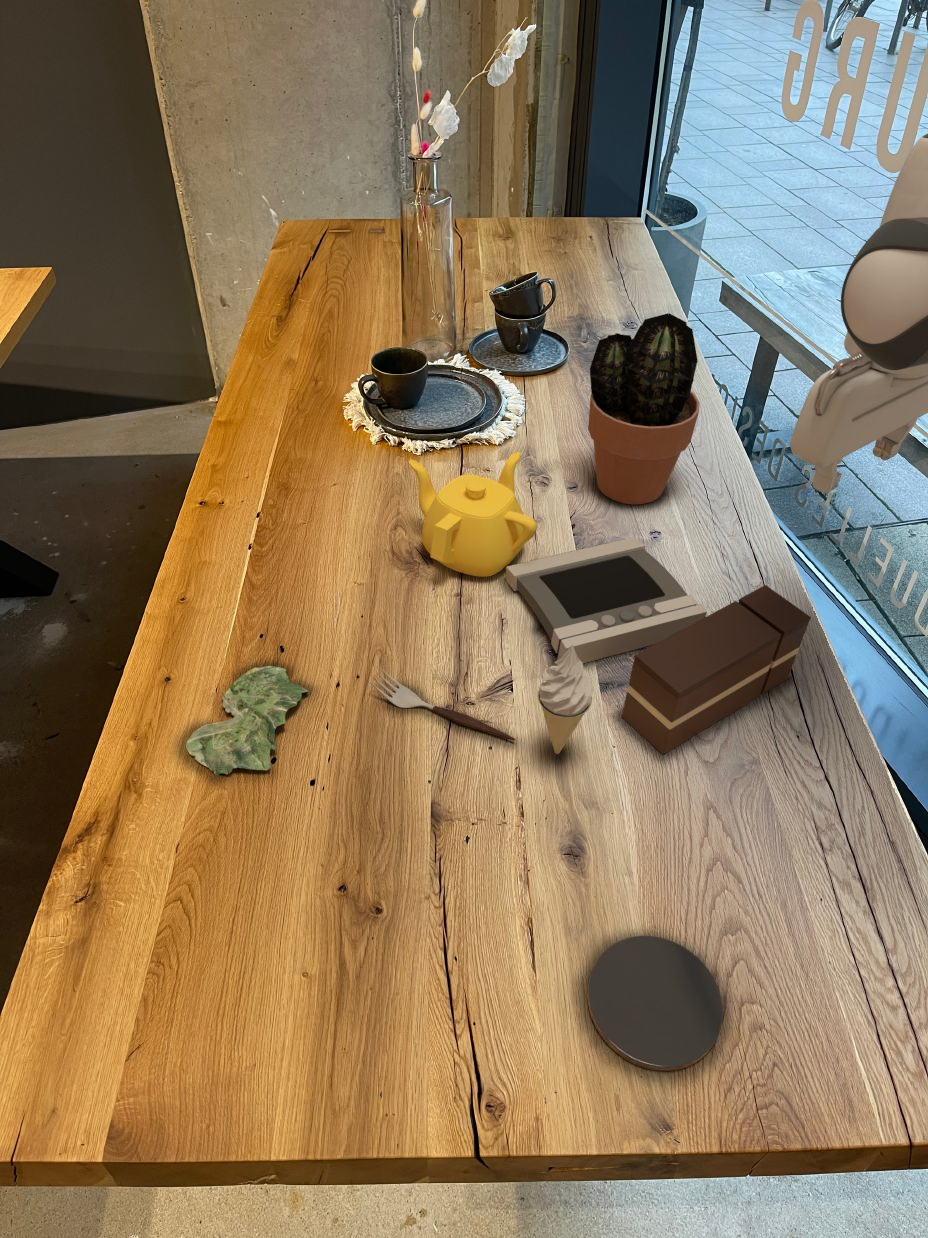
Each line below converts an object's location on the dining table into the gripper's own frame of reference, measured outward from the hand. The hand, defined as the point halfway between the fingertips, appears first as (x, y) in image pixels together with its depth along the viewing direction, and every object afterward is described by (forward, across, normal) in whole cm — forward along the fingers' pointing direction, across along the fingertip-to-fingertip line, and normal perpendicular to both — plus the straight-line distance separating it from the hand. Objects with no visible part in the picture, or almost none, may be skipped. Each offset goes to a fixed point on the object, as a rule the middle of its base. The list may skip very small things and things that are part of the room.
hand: (854, 471), depth 87 cm
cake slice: (+22, -7, 0) cm, 23 cm away
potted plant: (+22, +6, +32) cm, 40 cm away
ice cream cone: (+22, -32, +4) cm, 39 cm away
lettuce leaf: (+22, -54, +25) cm, 64 cm away
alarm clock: (+22, -14, +17) cm, 31 cm away
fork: (+22, -38, +14) cm, 46 cm away
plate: (+22, -42, -19) cm, 52 cm away
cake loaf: (+22, -17, 0) cm, 28 cm away
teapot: (+22, -19, +34) cm, 45 cm away
